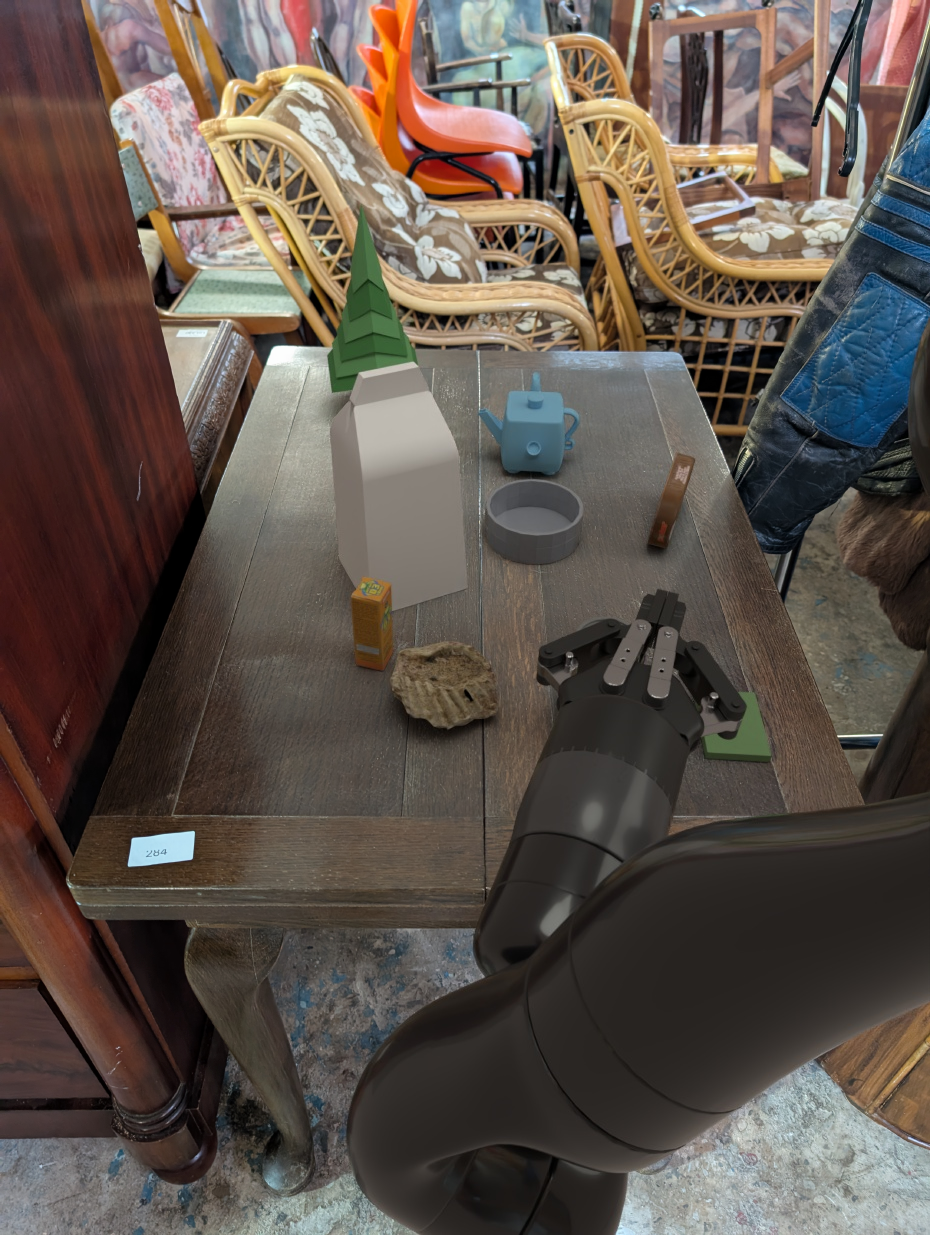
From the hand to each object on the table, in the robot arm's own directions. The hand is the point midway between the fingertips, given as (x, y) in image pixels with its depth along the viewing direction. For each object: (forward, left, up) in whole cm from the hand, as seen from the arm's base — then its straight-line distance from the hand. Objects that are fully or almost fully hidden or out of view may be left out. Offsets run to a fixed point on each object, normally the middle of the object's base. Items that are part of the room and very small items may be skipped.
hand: (665, 600), depth 53 cm
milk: (+40, +4, -26) cm, 48 cm away
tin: (+34, -30, -26) cm, 52 cm away
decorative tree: (+79, -8, -26) cm, 83 cm away
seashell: (+19, +8, -26) cm, 33 cm away
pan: (+40, -14, -26) cm, 49 cm away
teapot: (+56, -22, -26) cm, 65 cm away
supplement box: (+28, +12, -26) cm, 40 cm away
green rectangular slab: (+4, -16, -26) cm, 31 cm away
